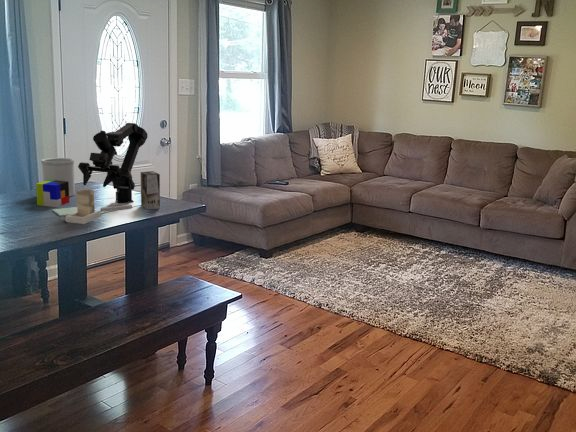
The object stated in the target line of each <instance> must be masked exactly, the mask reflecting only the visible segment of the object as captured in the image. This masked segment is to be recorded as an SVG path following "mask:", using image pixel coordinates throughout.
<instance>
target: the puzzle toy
mask: <svg viewBox="0 0 576 432" xmlns="http://www.w3.org/2000/svg"><path fill="white" fill-rule="evenodd" d="M35 188H36V189H35V190H36V205H37V206H42V207H43V206H45V207H53V208H58V207H61V206H63V205H66V204H68V203H70V197H69V183H68V181H57V180H46V181H44V180H43V181H40V182H37V183H35Z"/></svg>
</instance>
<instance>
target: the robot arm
mask: <svg viewBox="0 0 576 432" xmlns="http://www.w3.org/2000/svg"><path fill="white" fill-rule="evenodd" d="M127 138H128V141H129V144H128V146H127V150H126V153H125V155H124V158H123V161H122V163H121V166H120V165H116V164H113V159H114V157H115V156H117V155H118V152H117V149H116V147H118V148H119V147H121V146H122V144H124V140H125V139H127ZM147 139H148V132H147V131H146V130H145V129H144V128H143V127H141V126H139V125H138V124H137V123H136V122H126V123H125V124H124V125H123V126H122V127H120V128H119V129H117V130H115V131H109V132H106V131H105V130H100V131H99V132H97V133H96V134H95V135H93V137H92V140H93V142H94V143H95V145H96V147H97V148H98V150H99V151H100V153H99V152H90V154H89V159H88V160H89V161H91V162H92V165H93V166H92V165H91V164H90V163H89V162H82V161H81V162H79V164H78V165H77V167H78V169H79V170H80V172H81V173H82V175H83V176H82V178H83V179H82V180H83V181H82V184H83V186H86V185H87V183H88V182H89V180H90V179H91V177H92V174H93V172H100V173H106V176H105V179H104V181H103V184H102V187H103V188H106V186H108V185H109V184H111V183H112V186H113V189H114V190H116V191H115V201H116V202H118V203H120V204H125V203H126V204H127V203H133V202H134V200H133V195H132V194H133V190H135V188H136V183H135V182H134V180H133V175H132V169H133V166H134V164H135V160H136V158H137V155H138V152H139V150H140V148H142V146H143V145H145V143H146V142H147Z"/></svg>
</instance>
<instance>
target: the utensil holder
mask: <svg viewBox="0 0 576 432" xmlns="http://www.w3.org/2000/svg"><path fill="white" fill-rule="evenodd" d="M40 162H41V165H42V177H43V181H46V180H57V181H68V183H69V198H70V197H73V196H74V195H75V194H76V193H75V192H76V191H75V188H76V187H75V183H76V182H75V159H74V158H71V157H50V158H49V157H48V158H42V159H41V161H40Z"/></svg>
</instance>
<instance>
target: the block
mask: <svg viewBox="0 0 576 432" xmlns="http://www.w3.org/2000/svg"><path fill="white" fill-rule="evenodd" d="M76 207H77V213H78V217H84V216H87V215H89V214H91V213H94V212H96V211H95V191H94V189H92V188H91V189H90V188H89V189H87V188H81V189H79V190H76Z"/></svg>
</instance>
